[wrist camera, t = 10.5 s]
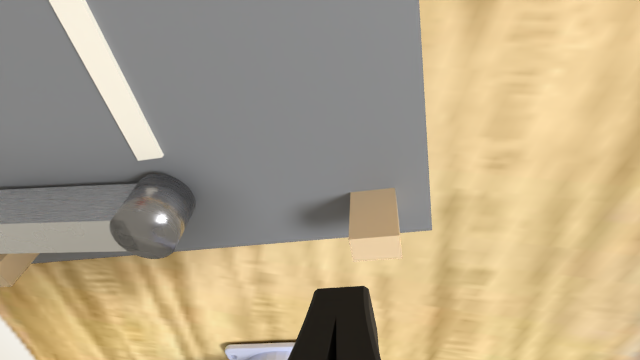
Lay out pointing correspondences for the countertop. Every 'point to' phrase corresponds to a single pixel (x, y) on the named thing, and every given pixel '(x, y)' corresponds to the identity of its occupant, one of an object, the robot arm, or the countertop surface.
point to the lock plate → (224, 114)
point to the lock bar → (97, 218)
